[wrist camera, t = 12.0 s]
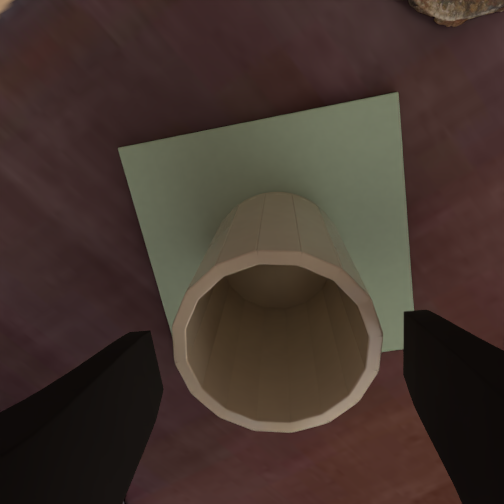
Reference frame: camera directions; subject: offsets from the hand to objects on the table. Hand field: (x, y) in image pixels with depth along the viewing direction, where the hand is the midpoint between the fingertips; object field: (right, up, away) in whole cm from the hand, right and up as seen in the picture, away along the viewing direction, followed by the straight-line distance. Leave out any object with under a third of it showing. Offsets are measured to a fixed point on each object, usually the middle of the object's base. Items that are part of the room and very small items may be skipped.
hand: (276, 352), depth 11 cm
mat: (0, +3, +8) cm, 8 cm away
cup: (0, +3, +7) cm, 8 cm away
